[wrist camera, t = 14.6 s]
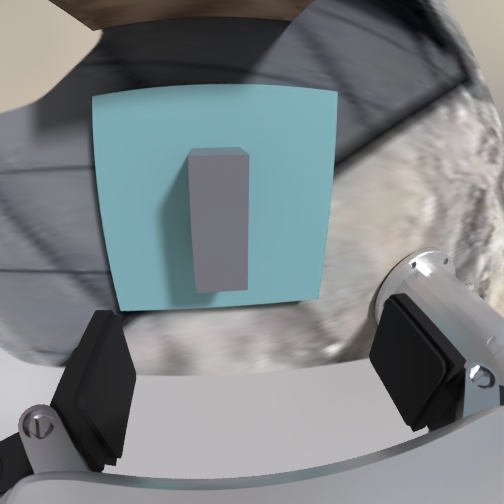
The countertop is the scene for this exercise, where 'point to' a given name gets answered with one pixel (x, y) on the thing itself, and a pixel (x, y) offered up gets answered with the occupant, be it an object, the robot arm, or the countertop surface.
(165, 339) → the countertop surface
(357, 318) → the countertop surface
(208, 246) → the lid
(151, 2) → the box
